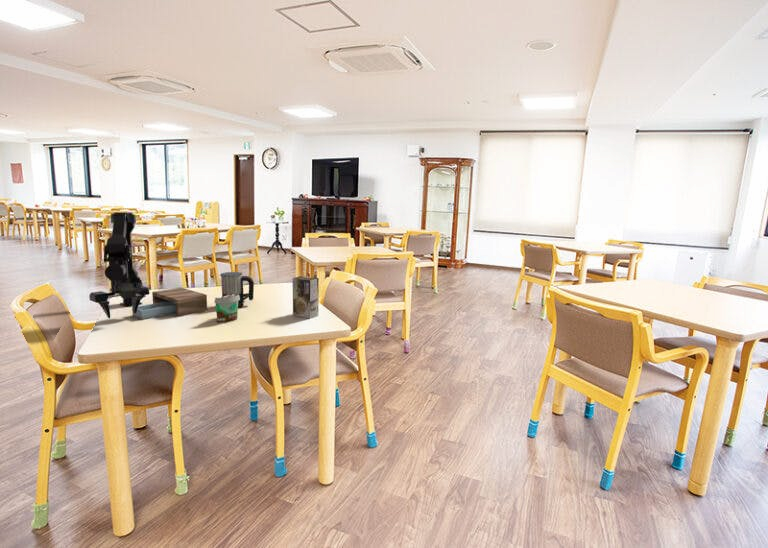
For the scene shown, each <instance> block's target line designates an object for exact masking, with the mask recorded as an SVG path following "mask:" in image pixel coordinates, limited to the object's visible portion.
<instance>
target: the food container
mask: <svg viewBox="0 0 768 548" xmlns="http://www.w3.org/2000/svg"><path fill="white" fill-rule="evenodd" d="M239 300H240V297H239V295H238V293H237V292H231V294H230V295H225V296H223V297H222V296H221V297H215V298H214V304H215V311H216V322H217V323H230V322H235V321H237V320H238V314H239V313H238V310H239V308H238V301H239Z"/></svg>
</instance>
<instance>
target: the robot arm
mask: <svg viewBox="0 0 768 548" xmlns="http://www.w3.org/2000/svg"><path fill="white" fill-rule="evenodd" d="M110 223H111V224H112V232H111V236H110V237H109V238H107V240H106V244H104V249H103V263H108V265H107V267H105V269H104V275H105V278H107V279H108V281H110V288H109V291H110V292H105V291H102V290H100V291H92V292H90V293H89V297H88V298H89V301H91V302H93V303H95V304H96V303H97V304H98V305H99V306H100V307H101V308H102V310H103V312H104V314H105V316H106V317H107V319H111V312H110V301H109V299H110V298H111V299H112V298H117V297H121V298H122V302H120V303H119V305H122V306H123V307H131V309H132V308H133V313H134V314H135V313H136V311H137V308H138V306H140V305H143V303H142V302H141V301H142V299H143V298H146V297H147V296H149V295H150V293H151V292H150V288H149V287H147V286H145V285H143V281H142V279H141V277H140V276H139V273H138V271H137V270H136V268H135V266H134V258H133V246H132V245H133V244H132V243H133V242H132V233H133V231H134V230H135V227H136V226H135V225H136V224H137V216H136V214H133V212H128V211H127V212H123V211H122V212H119V211H116V212H113V213H110ZM133 313H132V314H133Z"/></svg>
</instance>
